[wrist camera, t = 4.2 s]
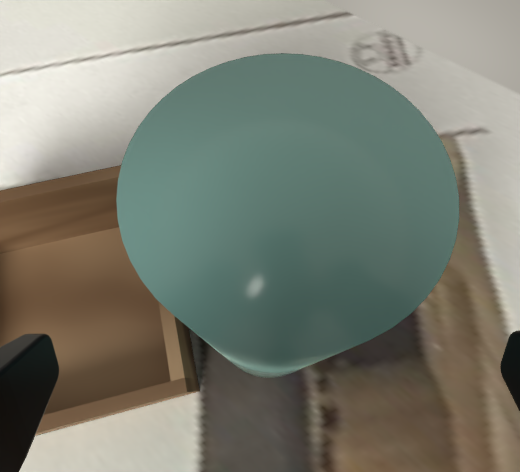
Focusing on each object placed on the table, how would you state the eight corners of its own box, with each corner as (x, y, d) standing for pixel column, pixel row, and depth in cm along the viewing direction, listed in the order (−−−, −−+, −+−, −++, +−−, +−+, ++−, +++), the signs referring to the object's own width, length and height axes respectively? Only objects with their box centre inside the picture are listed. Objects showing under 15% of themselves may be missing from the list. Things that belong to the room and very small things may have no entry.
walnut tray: (199, 391, 16) (175, 393, 11) (-6, 446, 15) (-124, 473, 11) (168, 216, 19) (138, 161, 14) (-4, 255, 18) (-94, 210, 14)
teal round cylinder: (327, 377, 16) (496, 356, 5) (211, 378, 16) (89, 357, 5) (319, 267, 18) (427, 53, 6) (216, 267, 18) (137, 53, 6)
